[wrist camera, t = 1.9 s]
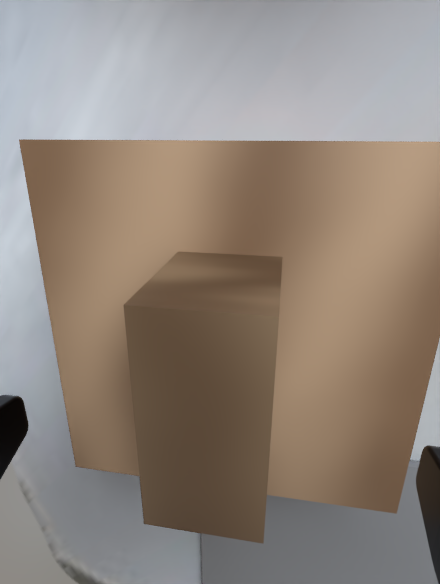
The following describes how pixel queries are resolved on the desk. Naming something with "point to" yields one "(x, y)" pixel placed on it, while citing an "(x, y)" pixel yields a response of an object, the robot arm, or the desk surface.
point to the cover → (241, 317)
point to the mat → (327, 545)
